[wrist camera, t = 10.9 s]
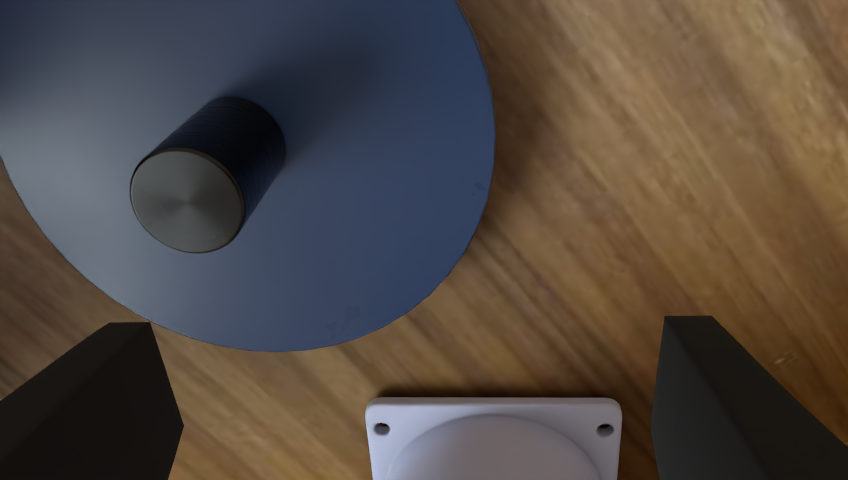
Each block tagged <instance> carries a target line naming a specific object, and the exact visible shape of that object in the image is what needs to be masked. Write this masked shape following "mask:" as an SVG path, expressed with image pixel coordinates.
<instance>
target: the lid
mask: <svg viewBox="0 0 848 480" xmlns="http://www.w3.org/2000/svg"><path fill="white" fill-rule="evenodd" d="M495 147H496V124H495V112H494V100H493V93H492V89H491V84H490V80H489V75H488V71H487V66H486V62H485V60H484V57H483V54H482V51H481V49H480V46H479V43H478V40H477V38H476V35H475V32H474V30H473V28H472V26H471V24H470V22H469V20H468V18H467V16H466V14H465V12H464V10H463V8H462V7H461V5H460V3H459V1H458V0H0V157H1V159H2V162H3V164H4V167H5V169H6V171H7V174H8V176H9V179H10V181H11V183H12V185H13V186H14V188H15V190H16V192H17V194H18V195H19V197H20V199H21V201H22V203H23V204H24V206H25V208H26V210H27V211H28V213H29V214H30V215H31V217H32V218H33V220H34V221H35V222H36V224H37V225H38V227H39V228H40V230H41V231H42V232H43V234H44V235H45V236H46V238H47V239H48V240H49V241H50V242H51V243H52V244H53V246H54V247H55V248H56V249H57V250H58V251H59V252H60V254H61V255H62V256H63V257H64V258H65V259H66V260H67V261H68V262H69V263H70V264H71V265H72V266H73V267H74V268H75V269H76V270H78V271H79V272H80V273H81V274H82V275H83V276H84V277H85V278H86V279H87V280H88V281H90V282H91V283H92V284H93V285H95V286H96V287H97V288H99V289H100V290H101V291H103V292H104V293H105V294H107V295H108V296H109V297H110V298H112V299H113V300H115V301H116V302H118V303H120V304H121V305H123V306H124V307H126V308H128V309H129V310H131V311H133V312H134V313H136V314H137V315H139V316H141V317H143V318H145V319H147V320H149V321H151V322H153V323H155V324H157V325H159V326H161V327H164V328H166V329H168V330H171V331H174V332H176V333H179V334H182V335H184V336H187V337H190V338H192V339H196V340H200V341H203V342H207V343H211V344H215V345H219V346H223V347H230V348H236V349H242V350H249V351H268V352H286V351H303V350H310V349H316V348H322V347H327V346H333V345H336V344H340V343H343V342H346V341H350V340H353V339H356V338H359V337H362V336H364V335H366V334H369V333H371V332H373V331H375V330H378V329H380V328H382V327H384V326H386V325H388V324H389V323H391V322H393V321H394V320H396V319H398V318H399V317H401V316H403V315H404V314H406V313H408V312H409V311H410V310H411V309H413V308H414V307H415V306H416V305H418V304H419V303H420V302H421V301H423V300H424V299H425V298H426V297H428V296H429V295H430V294H431V293H432V292H433V291H434V290H435V289H436V288H437V286H438V285H439V284H440V283H441V282H442V281H443V280H444V279H445V278H446V277H447V276H448V275H449V274H450V272H451V271H452V269H453V268H454V267H455V265H456V264H457V262H458V261H459V260H460V258H461V257H462V255H463V254H464V253H465V251H466V249H467V247H468V245H469V243H470V241H471V239H472V237H473V236H474V234H475V232H476V230H477V228H478V226H479V223H480V220H481V217H482V214H483V212H484V209H485V206H486V203H487V200H488V197H489V192H490V187H491V182H492V177H493V172H494V166H495Z"/></svg>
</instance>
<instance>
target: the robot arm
mask: <svg viewBox="0 0 848 480" xmlns="http://www.w3.org/2000/svg"><path fill="white" fill-rule="evenodd" d="M365 419H366V427H367V435H368V442H369V450H370V458H371V466H372V474H373V480H617V474H618V462H619V450H620V439H621V427H622V412H621V408H620V405H619V404H618V403H617V401H615V400H613V399H610V398H510V397H379V398H374V399H372V400H371V401H369V403H368V404H367V408H366V413H365ZM377 423H386V424H387V425H388V426H386V427H382V426H379V425H378V424H377ZM602 424H609V425H610V426H608V427H606V428H600V427H598V426H600V425H602ZM183 427H184V425H183V422H182V418H181V415H180V412H179V409H178V406H177V403H176V400H175V397H174V394H173V391H172V388H171V385H170V382H169V379H168V376H167V373H166V369H165V366H164V363H163V360H162V357H161V354H160V351H159V348H158V345H157V342H156V339H155V336H154V333H153V330H152V327H151V324H150V322H125V323H108V324H107V325H105V326H104V327H102V328H101V329H99V330H97V331H96V332H94V333H93V334H92V335H90V336H89V337H87V338H86V339H84V340H83V341H82V342H80V343H79V344H77V345H76V346H75V347H73V348H72V349H70V350H69V351H68V352H66V353H65V354H64V355H62V356H61V357H59V358H58V359H57V360H55V361H54V362H53V363H51V364H50V365H49V366H47V367H46V368H45V369H43V370H42V371H41V372H39V373H38V374H37V375H35V376H34V377H33V378H31V379H30V380H28V381H27V382H26V383H24V384H23V385H22V386H20V387H19V388H18V389H16V390H15V391H13V392H12V393H11V394H9V395H8V396H7V397H5V398H4V399H3V400H1V401H0V480H168V477H169V474H170V471H171V468H172V465H173V462H174V458H175V455H176V451H177V448H178V444H179V441H180V437H181V434H182V430H183ZM650 429H651V435H652V441H653V446H654V452H655V457H656V463H657V468H658V473H659V478H660V480H848V447H847V446H846V445H845V444H844V443H843V442H842V441H840V440H839V439H838V438H837V437H836V436H835V435H834V434H833V433H832V432H830V431H829V430H828V429H827V428H826V427H825V426H824V425H823V424H822V423H821V422H820V421H819V420H818V419H816V418H815V417H814V416H813V415H812V414H811V413H810V412H809V411H808V410H807V409H806V408H805V407H804V406H802V405H801V404H800V403H799V402H798V401H797V400H796V399H795V398H794V397H793V396H792V395H791V394H790V393H789V392H788V391H787V390H786V389H785V388H784V387H783V386H782V385H781V384H780V383H779V382H778V381H777V380H776V379H775V378H774V377H773V376H772V375H771V374H770V373H768V372H767V371H766V370H765V369H764V368H763V367H762V366H761V365H760V364H759V363H758V362H757V361H756V360H755V359H754V358H753V357H752V356H751V355H750V354H749V353H748V352H747V351H746V350H745V348H744V347H743V346H742V345H741V344H740V343H739V342H738V341H737V340H736V339H735V338H734V337H733V336H732V335H731V334H730V333H729V332H728V331H727V330H726V329H725V328H724V327H722V326H721V325H720V324H719V323H718V322H717V321H716V320H715V319H714V318H713V317H712V316H665V318H664V325H663V333H662V340H661V348H660V355H659V363H658V370H657V378H656V385H655V393H654V400H653V408H652V415H651V423H650Z"/></svg>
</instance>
